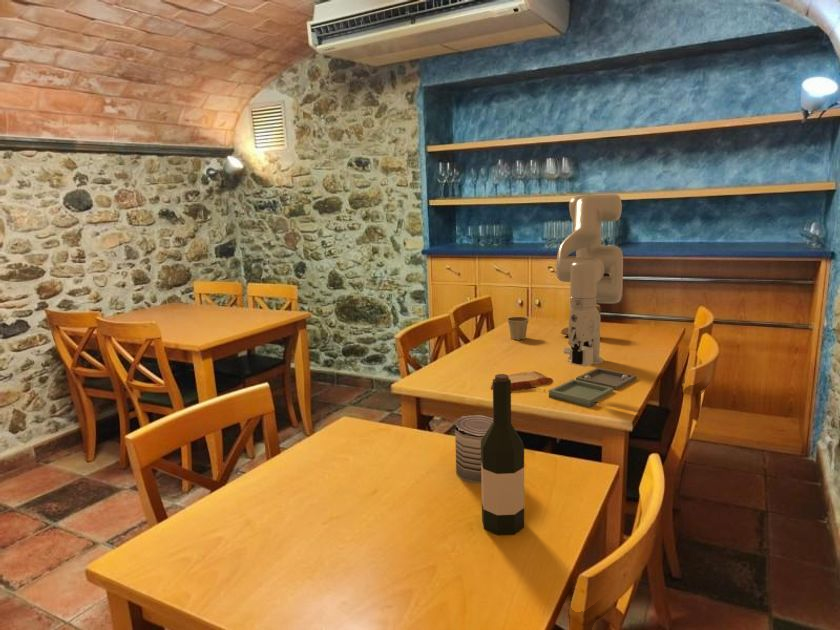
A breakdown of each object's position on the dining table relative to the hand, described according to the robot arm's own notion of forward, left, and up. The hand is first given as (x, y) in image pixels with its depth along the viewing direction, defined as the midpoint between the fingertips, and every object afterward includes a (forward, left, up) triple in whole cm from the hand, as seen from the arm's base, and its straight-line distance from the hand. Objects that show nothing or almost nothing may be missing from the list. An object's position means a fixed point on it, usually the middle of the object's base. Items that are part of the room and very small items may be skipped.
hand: (581, 361), depth 180 cm
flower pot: (-57, +47, -11) cm, 75 cm away
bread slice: (-20, -2, -12) cm, 24 cm away
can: (+8, -59, -12) cm, 61 cm away
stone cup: (-37, +66, -12) cm, 77 cm away
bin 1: (0, 0, -11) cm, 11 cm away
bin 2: (0, +16, -11) cm, 20 cm away
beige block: (0, 0, -1) cm, 1 cm away
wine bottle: (+25, -73, -11) cm, 78 cm away
